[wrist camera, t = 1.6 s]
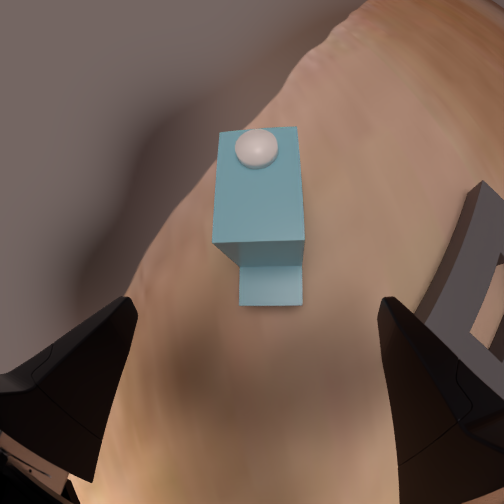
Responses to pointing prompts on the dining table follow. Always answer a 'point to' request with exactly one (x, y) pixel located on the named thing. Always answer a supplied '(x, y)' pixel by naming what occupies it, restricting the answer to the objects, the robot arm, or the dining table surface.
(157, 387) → the dining table surface
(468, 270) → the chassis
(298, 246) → the servo
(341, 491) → the dining table surface
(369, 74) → the dining table surface
